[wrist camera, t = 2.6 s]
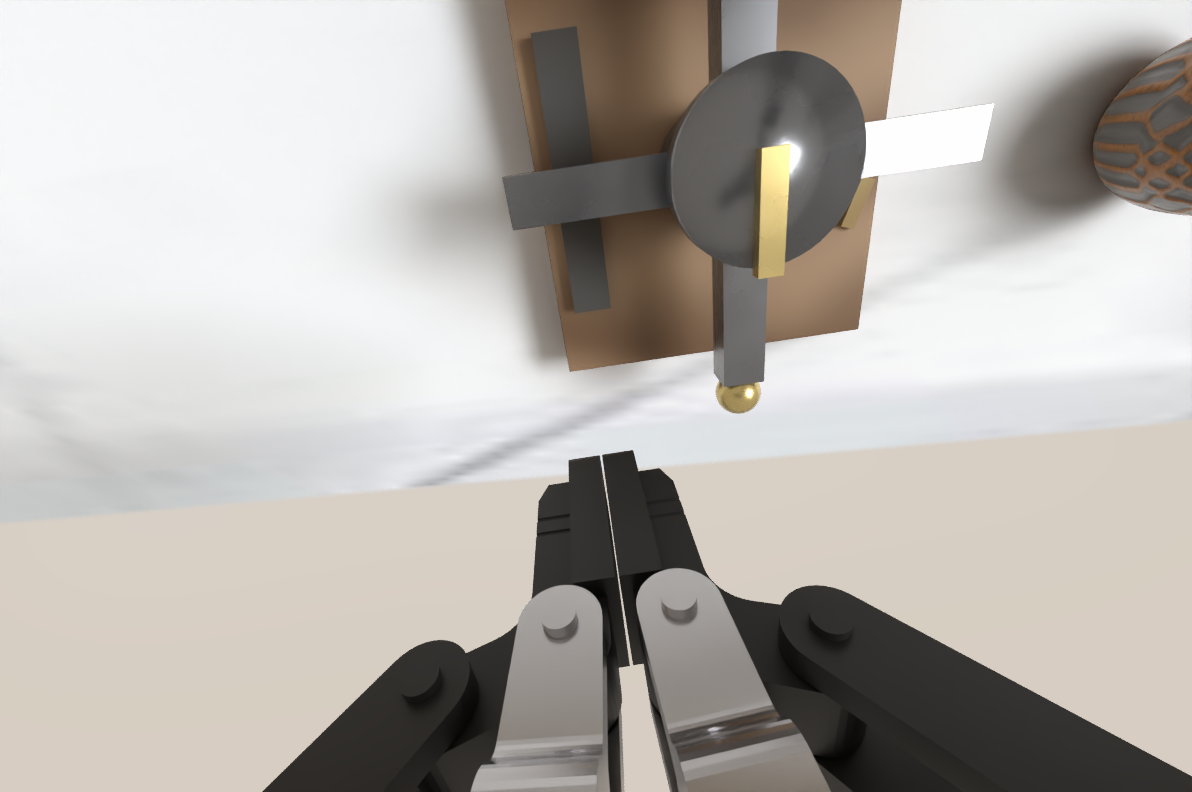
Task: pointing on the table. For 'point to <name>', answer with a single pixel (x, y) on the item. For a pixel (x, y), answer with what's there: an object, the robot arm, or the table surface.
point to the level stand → (639, 127)
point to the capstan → (753, 173)
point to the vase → (1151, 136)
